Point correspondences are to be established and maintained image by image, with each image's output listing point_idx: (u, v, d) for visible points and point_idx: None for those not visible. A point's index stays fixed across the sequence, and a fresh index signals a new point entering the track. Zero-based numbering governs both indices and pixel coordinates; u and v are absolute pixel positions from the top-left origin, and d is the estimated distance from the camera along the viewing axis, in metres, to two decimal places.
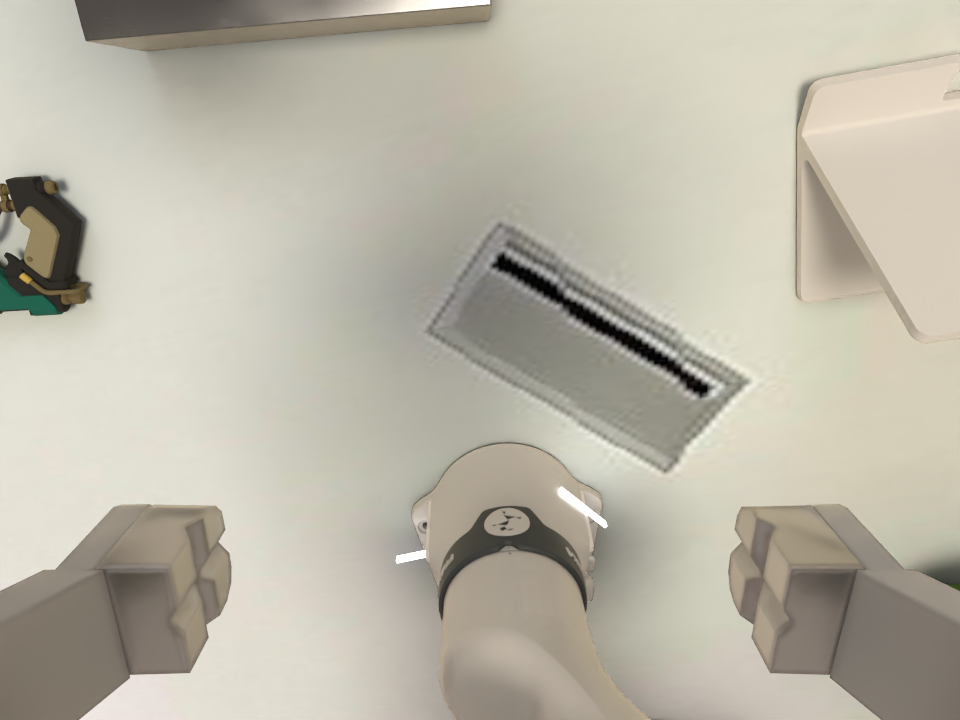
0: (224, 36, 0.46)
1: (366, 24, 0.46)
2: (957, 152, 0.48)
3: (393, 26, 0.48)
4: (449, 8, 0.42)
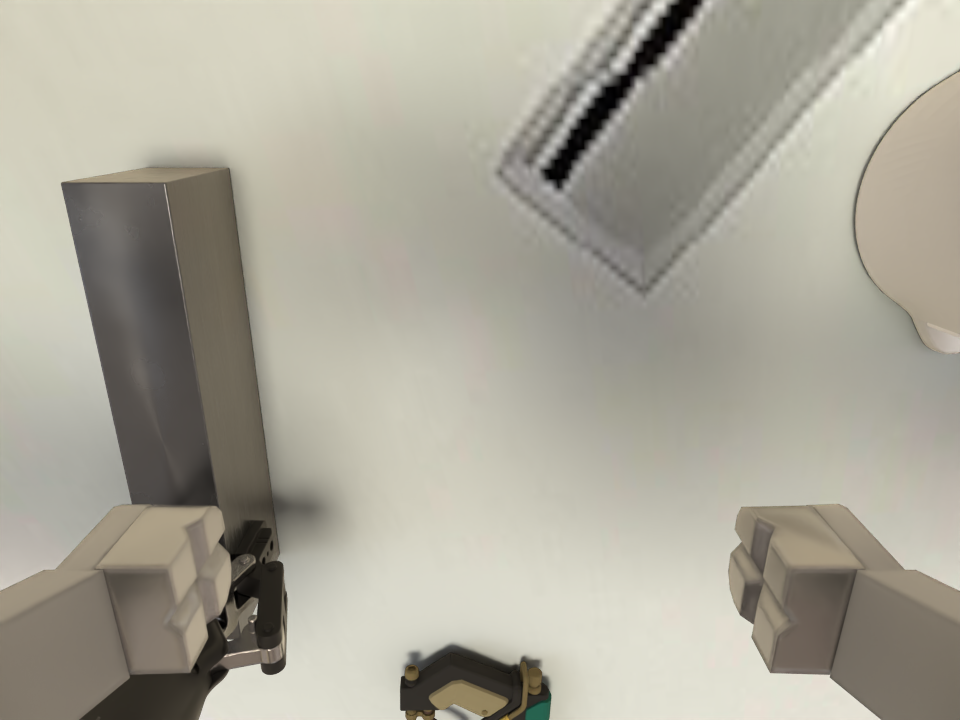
0: (245, 493, 0.40)
1: (224, 336, 0.36)
2: None
3: (235, 297, 0.38)
4: (175, 241, 0.31)
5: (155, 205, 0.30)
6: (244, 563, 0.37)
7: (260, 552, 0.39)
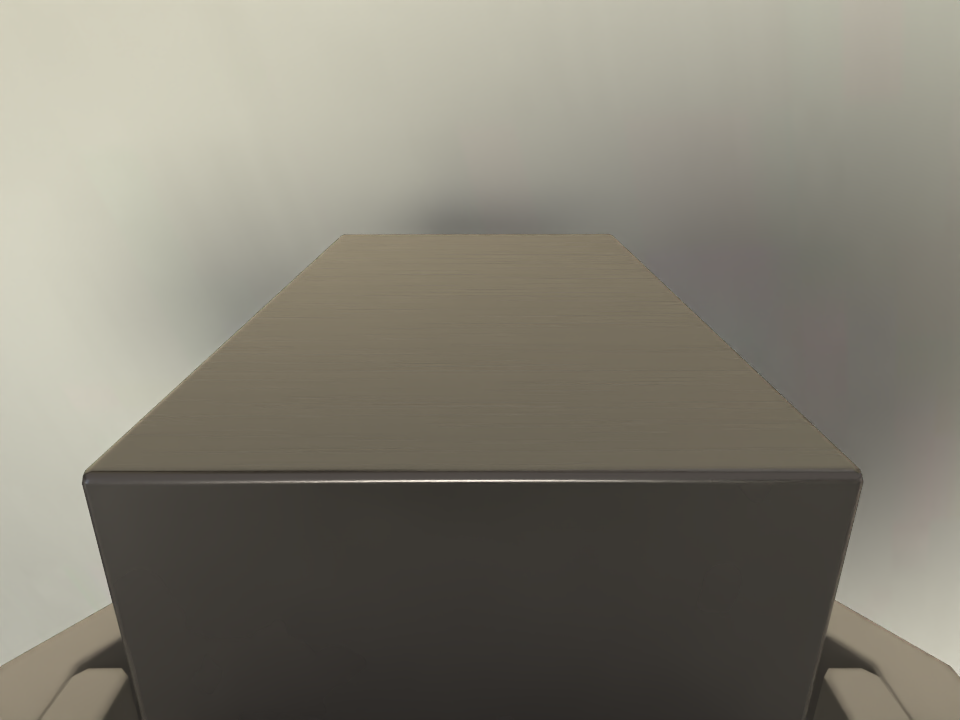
0: None
1: None
2: None
3: None
4: None
5: (742, 612, 0.04)
6: None
7: None
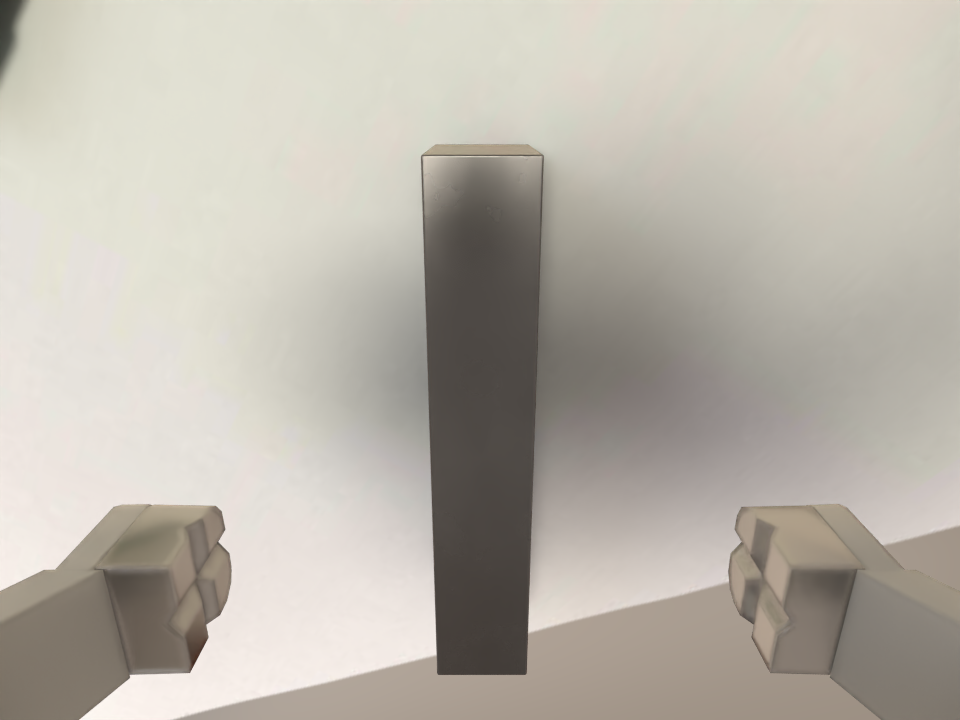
0: None
1: None
2: None
3: None
4: (540, 224, 0.26)
5: (527, 182, 0.26)
6: None
7: None
